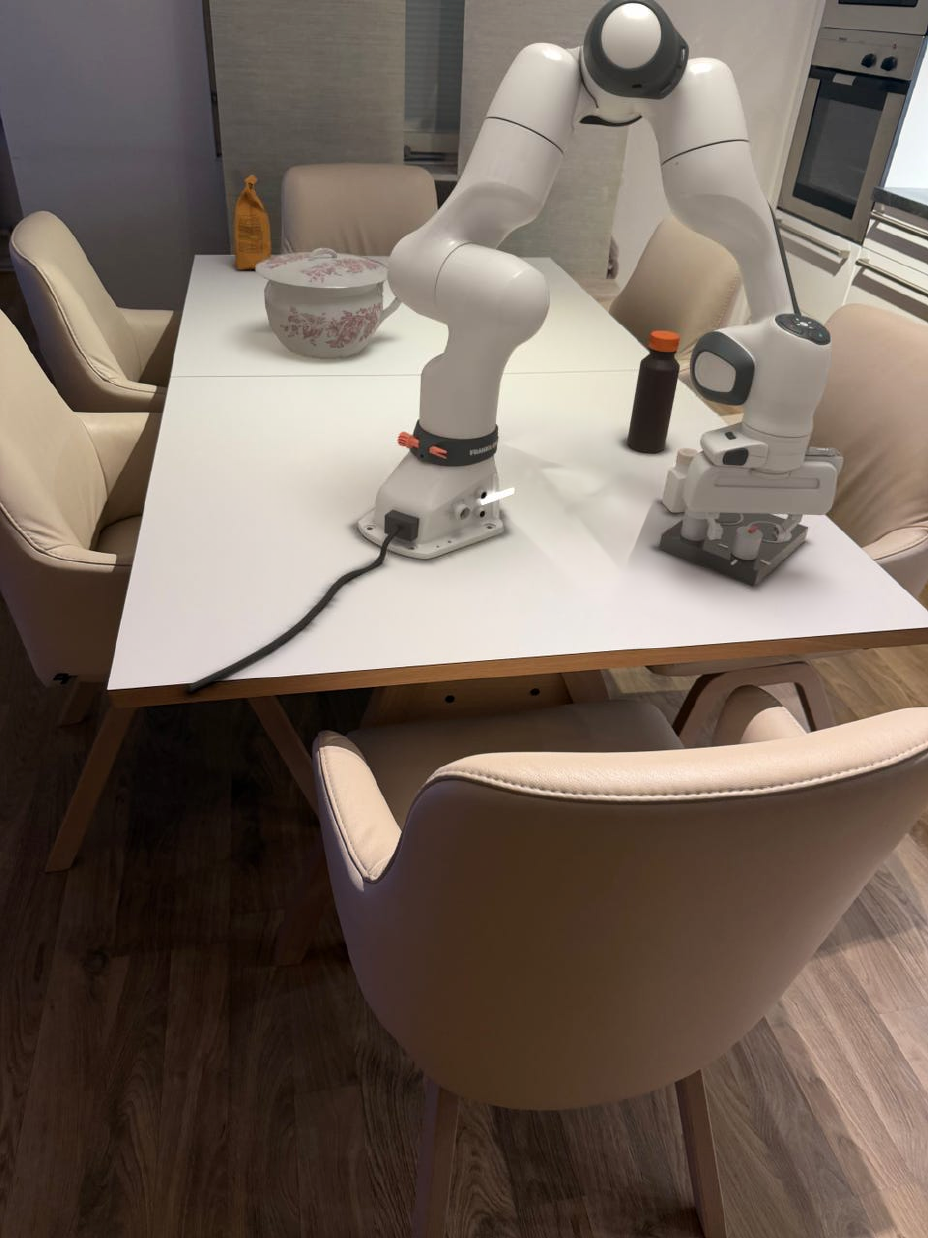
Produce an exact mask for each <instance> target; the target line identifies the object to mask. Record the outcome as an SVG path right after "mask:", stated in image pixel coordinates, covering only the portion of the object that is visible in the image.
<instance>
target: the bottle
mask: <svg viewBox="0 0 928 1238" xmlns="http://www.w3.org/2000/svg"><path fill="white" fill-rule="evenodd" d="M680 340H681V336H680V334H678V333H677V332H675V331H669V330H653V331H651V332H650V336H649V342H648V351H649V352H648V354H647V355H645V357H643V358H642V359H641V360H640V362H639V367H638V374H637V380H636V386H635V393H634V397H633V404H632V411H631V416H630V422H629V427H628V428H629V429H628V433H627V439H626V440H627V441H626V444H627V445H628V447H630V448H631V449H633V450H634V451H637V452H640V453H647V454H654V453H659V452H662V451H663V450H664V449H665V448H666V444H667V443H666V442H667V437H668V432H669V428H670V423H671V417H672V412H673V406H674V401H675V395H676V391H677V385H678V381H679V375H680V369H681V365H680V363H679V362H678V360H677V359H676V357H675V356H676V354H677V353H678V350H679V345H680Z"/></svg>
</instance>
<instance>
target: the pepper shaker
mask: <svg viewBox="0 0 928 1238" xmlns="http://www.w3.org/2000/svg"><path fill="white" fill-rule="evenodd" d="M698 453H699V451H698V450H697V449H694V448H691V447H690V448H689V447H682V448H679V449H678V450H677V453H676V459H675V466H673V467H670V468H669V469H668V470H667V474H666V479H665V483H664V490H663V494H662V498H661V499H662V501H661V502H662V504H663V505H664V507H665V508H667V509H668V511H670V512H671V513H676V514H677V513H685V511H686V510H687V509H688V507H687V505H686V504H685V502H684V501H683V498H682V490H683V485H684V482H685V478H686V475H687V472H688V469H689V466H690V464H691V462H692V460H693V458H694V457H695V455H696V454H698Z"/></svg>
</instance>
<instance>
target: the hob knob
mask: <svg viewBox="0 0 928 1238" xmlns="http://www.w3.org/2000/svg"><path fill="white" fill-rule="evenodd" d="M762 537H763V534H762V532H761V531H760V530H758V529H757V527H756V526H753V527H747V526H743V527H739V528H738V529H737V530H736V534H735V538H734V542H733V546H732V550H731V553H732V555H733V556H735V557H736V558H739V559H742V560H754V559H756V558H757V555H758V552H759V548H760V544H761V540H762Z"/></svg>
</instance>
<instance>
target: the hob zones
mask: <svg viewBox="0 0 928 1238" xmlns="http://www.w3.org/2000/svg"><path fill="white" fill-rule="evenodd" d="M743 519H744V517H743V515H742V514H741V513H720V515H719V518H718V519H715V518H714V520H715V522H716V523H717V524H722V525H736V524H739V523H741V522H742V521H743ZM708 525H709V523H708V520H707V518H706V515H705V513H704V512H692V511H691V510H690V509H689V508H688V509H687V510H686V511H685V512H684V515H683V524H682V528H681V535H682V536H683V537H684V538H686V539H689V540H693V541H701V540H704V539H705V537H706V533H707V529H708ZM775 525H778V524H775V523H771V522H753V523H751V524H749V525H748V526H747V527H753V526H756V527H757V529H758V530H760V531H761V532H762V534H763V537H762V541H765V542H771V543H783V542H787V541H789V540H790V539H791V533H790V532H789V536H788V539H787V541H775V539H774V538H773V532H774V527H775Z"/></svg>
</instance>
